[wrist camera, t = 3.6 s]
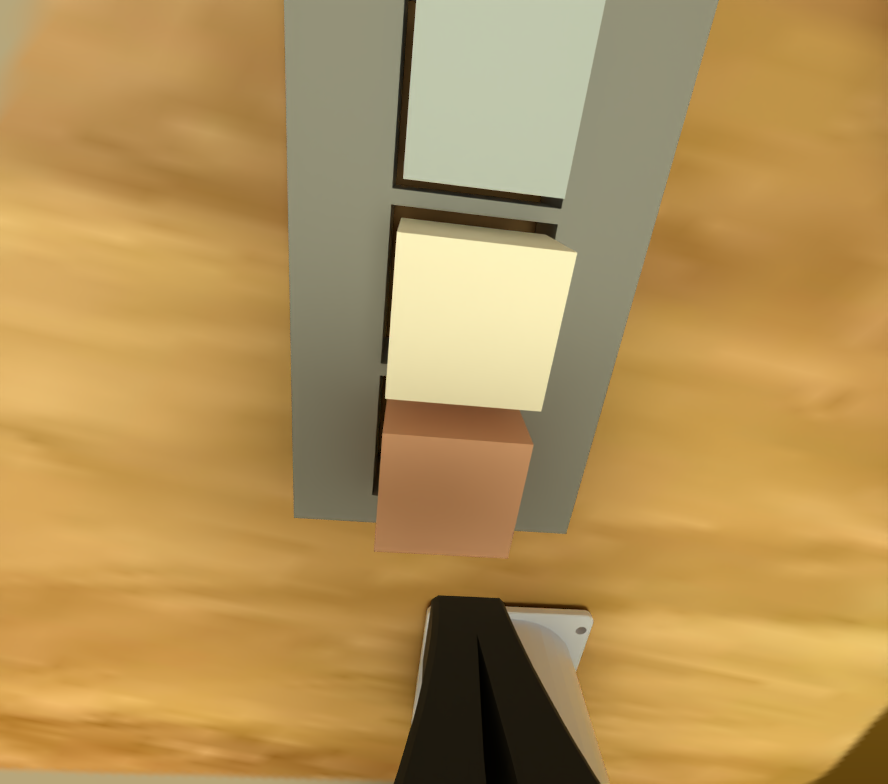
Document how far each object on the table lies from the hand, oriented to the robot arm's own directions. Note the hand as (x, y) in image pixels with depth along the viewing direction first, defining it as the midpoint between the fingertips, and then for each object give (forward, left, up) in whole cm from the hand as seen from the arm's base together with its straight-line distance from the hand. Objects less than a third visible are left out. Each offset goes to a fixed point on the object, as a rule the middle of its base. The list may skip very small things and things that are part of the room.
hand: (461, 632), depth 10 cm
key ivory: (+5, 0, -7) cm, 9 cm away
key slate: (+10, 0, -9) cm, 13 cm away
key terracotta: (0, 0, -7) cm, 7 cm away
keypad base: (+5, 0, -10) cm, 11 cm away
